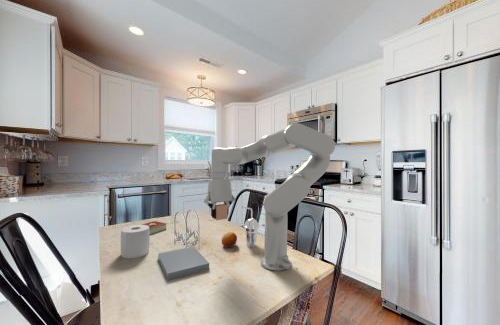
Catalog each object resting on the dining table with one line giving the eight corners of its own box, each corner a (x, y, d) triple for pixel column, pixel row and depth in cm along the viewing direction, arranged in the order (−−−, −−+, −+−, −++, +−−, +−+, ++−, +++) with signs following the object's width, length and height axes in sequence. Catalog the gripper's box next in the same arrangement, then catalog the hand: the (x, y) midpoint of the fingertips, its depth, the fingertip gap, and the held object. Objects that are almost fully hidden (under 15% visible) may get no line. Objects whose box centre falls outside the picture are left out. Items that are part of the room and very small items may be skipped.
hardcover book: (123, 236, 127) (123, 228, 127) (154, 226, 145) (154, 220, 145) (136, 239, 121) (136, 232, 121) (167, 229, 140) (167, 222, 140)
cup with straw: (252, 249, 108) (253, 209, 108) (238, 245, 114) (239, 206, 114) (262, 244, 115) (263, 206, 115) (248, 240, 121) (249, 204, 121)
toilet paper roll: (142, 246, 112) (142, 223, 111) (154, 252, 104) (154, 228, 104) (116, 253, 102) (116, 228, 102) (127, 261, 95) (127, 234, 95)
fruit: (238, 246, 108) (230, 232, 109) (225, 253, 110) (217, 239, 111) (242, 241, 116) (234, 227, 117) (229, 247, 118) (222, 234, 118)
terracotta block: (227, 218, 97) (227, 205, 97) (216, 220, 94) (216, 206, 94) (222, 216, 101) (222, 203, 101) (212, 217, 98) (212, 204, 98)
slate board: (209, 269, 89) (209, 263, 89) (167, 280, 80) (167, 273, 80) (193, 251, 106) (193, 246, 106) (158, 259, 97) (158, 253, 97)
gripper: (233, 174, 105) (233, 213, 105) (198, 176, 96) (198, 217, 96) (241, 175, 99) (240, 216, 99) (204, 177, 89) (204, 221, 90)
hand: (219, 216), depth 97 cm, fingers closed on terracotta block, 5 cm apart
